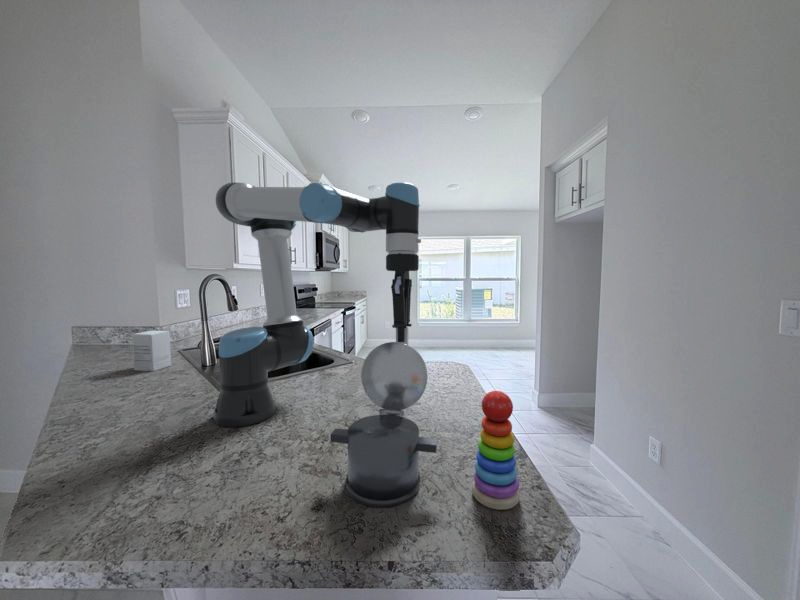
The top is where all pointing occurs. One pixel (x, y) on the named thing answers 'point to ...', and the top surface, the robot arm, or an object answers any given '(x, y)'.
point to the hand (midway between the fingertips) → (402, 354)
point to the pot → (383, 459)
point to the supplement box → (151, 350)
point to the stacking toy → (496, 455)
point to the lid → (394, 377)
